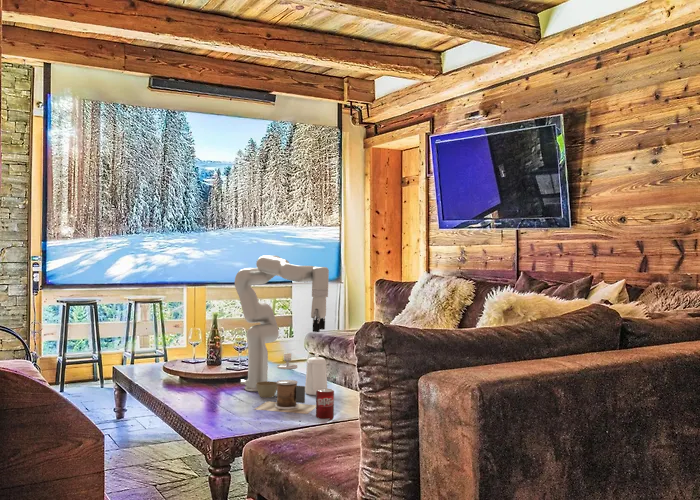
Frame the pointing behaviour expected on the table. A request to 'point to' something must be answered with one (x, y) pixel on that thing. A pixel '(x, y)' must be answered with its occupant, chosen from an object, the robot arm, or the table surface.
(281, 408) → the mug
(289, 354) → the silver knobbed lid
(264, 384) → the flower pot
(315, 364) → the coffeepot
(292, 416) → the table surface
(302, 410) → the serving board
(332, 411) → the soda can
